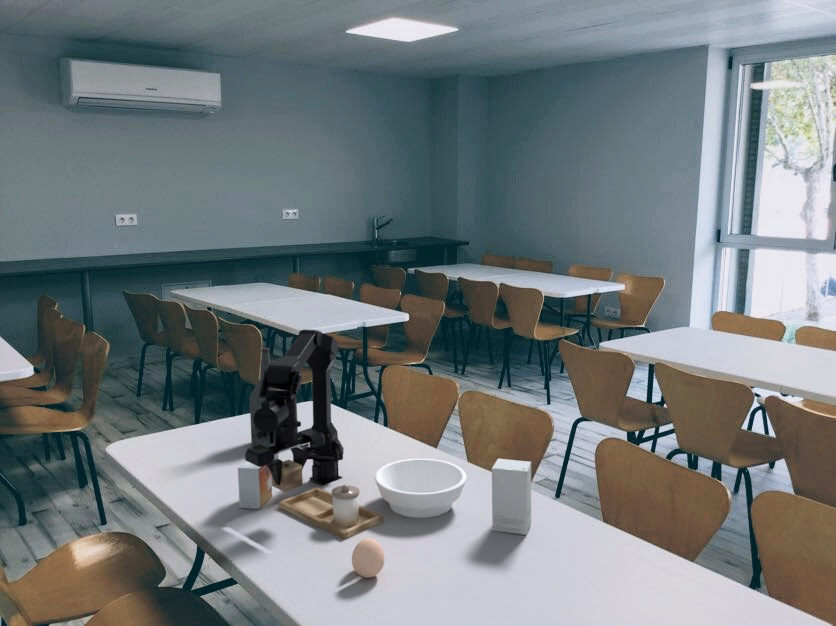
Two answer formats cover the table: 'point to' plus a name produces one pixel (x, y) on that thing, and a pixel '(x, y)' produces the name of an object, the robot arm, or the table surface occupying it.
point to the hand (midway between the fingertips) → (287, 481)
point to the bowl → (420, 486)
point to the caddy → (326, 512)
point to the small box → (254, 485)
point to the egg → (368, 558)
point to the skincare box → (511, 496)
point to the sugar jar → (345, 506)
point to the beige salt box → (289, 476)
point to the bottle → (254, 397)
